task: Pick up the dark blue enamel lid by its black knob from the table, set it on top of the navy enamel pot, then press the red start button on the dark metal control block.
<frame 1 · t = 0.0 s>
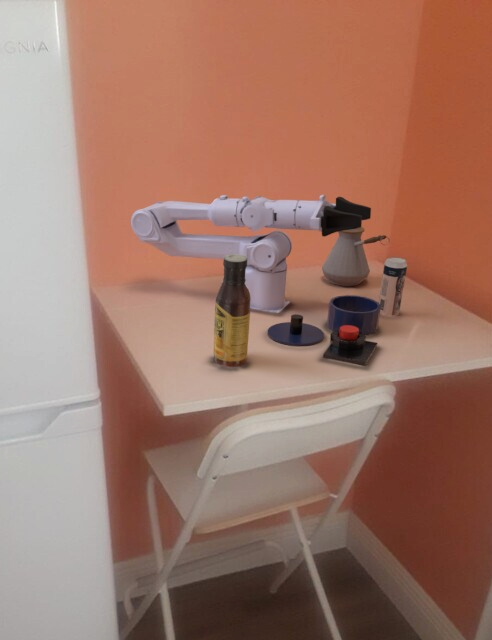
hand: (365, 217, 138), 22 cm above the table, tool horizontal, fingers open, 7 cm apart
start button: (348, 332, 134), point 3 cm above the table, slide at 0.1 cm
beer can: (387, 314, 153), on the table
sauce bottle: (230, 363, 129), on the table
lid: (295, 334, 140), point 1 cm above the table
coffee pot: (353, 288, 168), on the table
control block: (350, 354, 134), on the table
pot: (351, 328, 145), on the table
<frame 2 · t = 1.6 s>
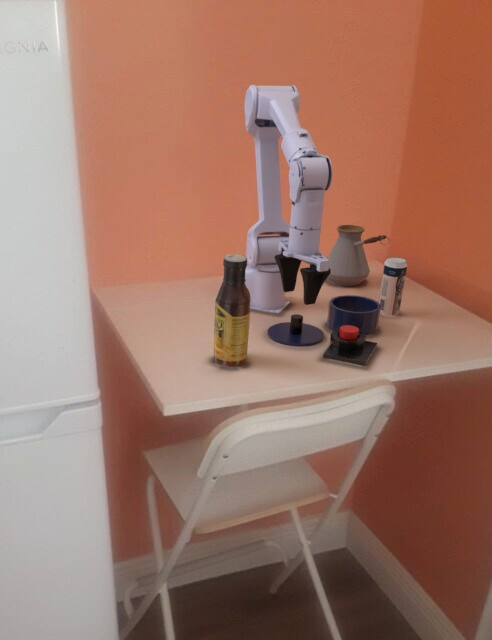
hand: (298, 297, 136), 8 cm above the table, tool pointing down, fingers open, 7 cm apart
nothing on the table moved.
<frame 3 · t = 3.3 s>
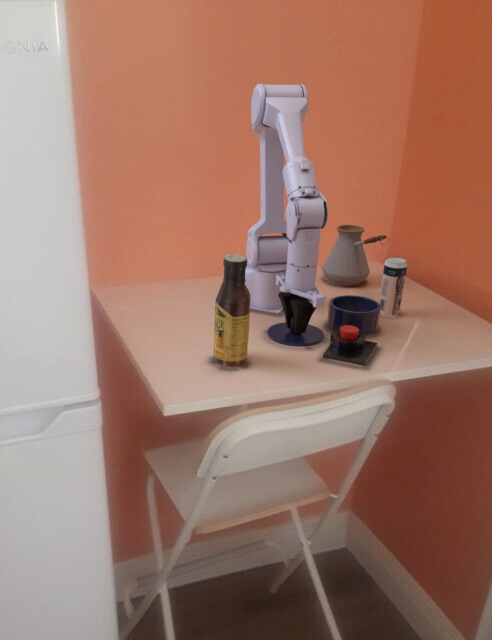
hand: (295, 330, 140), 2 cm above the table, tool pointing down, fingers closed on lid, 2 cm apart
lid: (295, 334, 140), point 1 cm above the table, touching gripper
everything else where it was.
when the fingers open (6 cm above the table, at t = 6.9 s): lid stays where it is, resting on pot.
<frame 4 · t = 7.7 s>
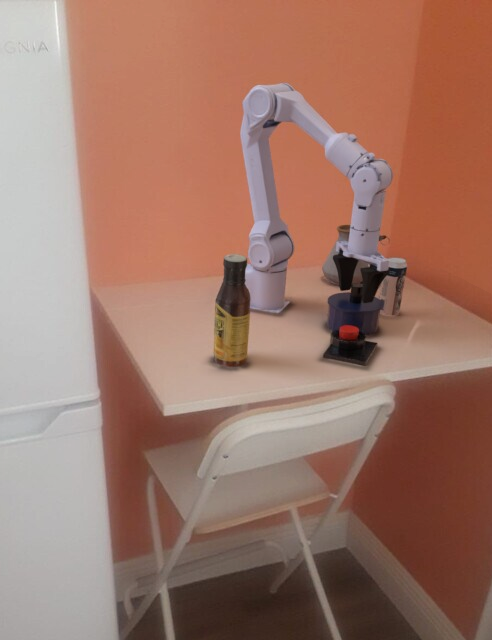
hand: (356, 295, 142), 7 cm above the table, tool pointing down, fingers open, 7 cm apart
lid: (355, 303, 142), point 5 cm above the table, touching pot
everything else where it was.
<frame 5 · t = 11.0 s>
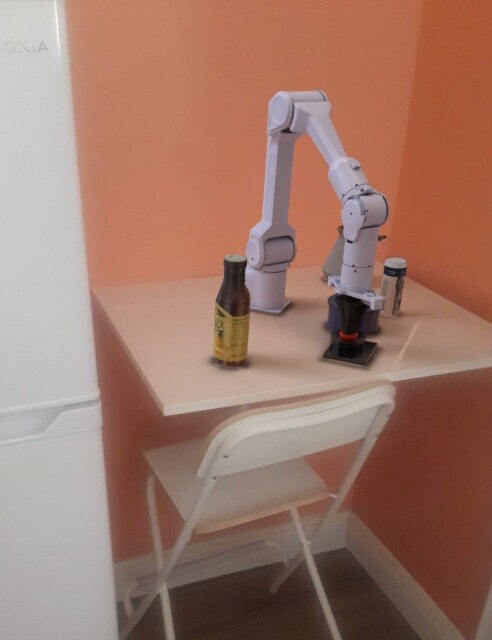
hand: (348, 333, 134), 3 cm above the table, tool pointing down, fingers closed, pressing on start button
start button: (348, 337, 135), point 3 cm above the table, slide at -0.8 cm, touching gripper
everything else where it was.
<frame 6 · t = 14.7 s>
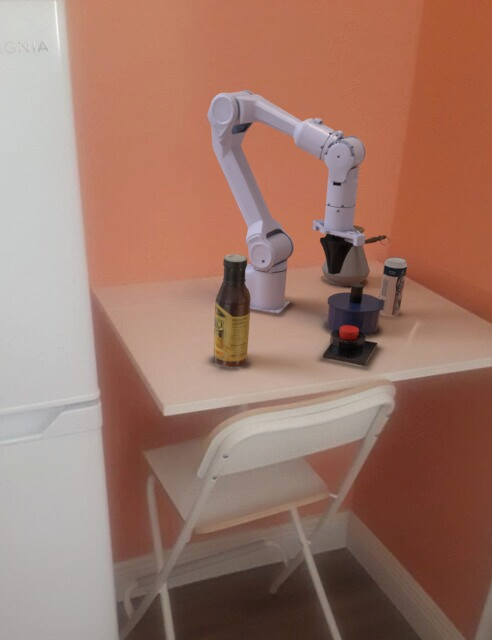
hand: (334, 273, 143), 10 cm above the table, tool pointing down, fingers closed
start button: (348, 332, 134), point 3 cm above the table, slide at 0.1 cm
everything else where it was.
at the end: lid 0.0 cm off-centre on the pot, point 5.4 cm above the pot's base; lid tilted 0°; start button pushed in 1.1 cm at the most during the clip, back to where it started at the end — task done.
